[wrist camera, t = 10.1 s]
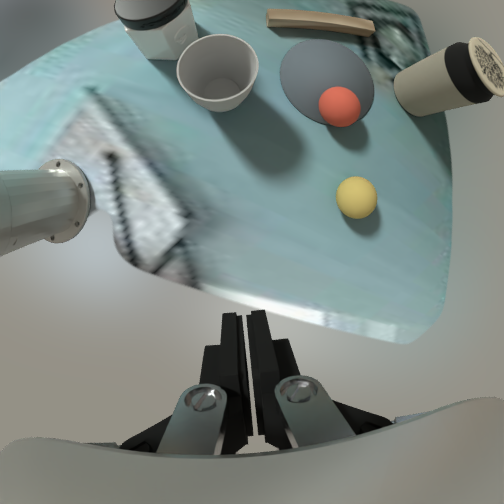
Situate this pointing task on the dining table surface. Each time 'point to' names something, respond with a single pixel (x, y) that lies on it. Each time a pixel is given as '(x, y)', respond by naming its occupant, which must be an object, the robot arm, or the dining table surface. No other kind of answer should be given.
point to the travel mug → (451, 79)
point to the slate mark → (323, 75)
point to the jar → (158, 26)
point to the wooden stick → (319, 21)
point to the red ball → (339, 106)
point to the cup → (218, 71)
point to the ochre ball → (356, 197)
